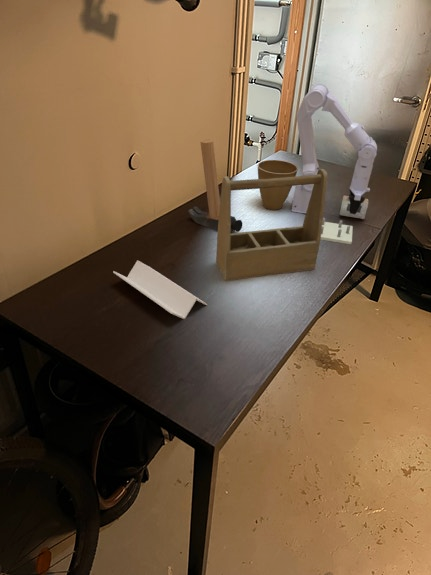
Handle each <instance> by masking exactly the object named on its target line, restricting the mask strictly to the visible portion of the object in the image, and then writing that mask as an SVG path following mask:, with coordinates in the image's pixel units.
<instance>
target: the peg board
mask: <svg viewBox="0 0 431 575" xmlns="http://www.w3.org/2000/svg"><path fill="white" fill-rule="evenodd" d="M338 221H339V222H338V223H336V222H335V223H334V222H329V221H326V217H323V221H322V230H321V239H320V241H321V240H322V241H328V242H334V243H339V244H346V245H352V243H353V225H348V224H343V220H342V219H340V220H338Z"/></svg>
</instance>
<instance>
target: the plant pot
mask: <svg viewBox="0 0 431 575" xmlns="http://www.w3.org/2000/svg"><path fill="white" fill-rule="evenodd" d="M298 169H299V168H298V166H297V165H295V163H292V162H289V161H285V160H280V159H267V160H263V161H260V162H259V163H258V164H257V179H273V178H284V177H295V176H297V173H298ZM292 187H293V186H284V187H273V188H260V189H259V193H260V198H261V203H262V206H263V208H265V209H268V210H271V211H272V210H273V211H278V210H280V209H282V208H283V206H284V205H285V202H286V200H287V199H288V197H289V194H290V193H291V190H292Z"/></svg>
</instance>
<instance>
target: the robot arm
mask: <svg viewBox="0 0 431 575" xmlns="http://www.w3.org/2000/svg"><path fill="white" fill-rule="evenodd" d="M321 108H322V109H321ZM319 109H321V111H322V112H327V113H328V112H329V113H330V114H331V115H332V116H333V117H334V118H335V119H336V121H337V122H338V123H339V124H340V125H341V126H342V127H343V129H344V136H345V138H346V139H347V140H348V141H349V143H350V144H351V146H352V147H353V148H354V150H356V151H357V152H358V153H357V156H358V158H357V160H356V161H355V162H356V163H355V166H354V171H353V175H352V179H351V184H350V186H349V189H348V190H349V194H348V196H349V200H350V214H356V213H357V211H358V209H359V207H360V205H361V204H362V202H364V200H365V199H366V198H365V197H362V196H363V195H364V194H366V192H368V193H369V192H370V191H371V188H370V187H368V185H369V181H370V179H371V178H370V177H371V174H372V170H373V167H374V164H373V163H374V162H375V159H376V157H377V152H378V145H377V143H376V140H374V139H373V137H372V136H369V134H368V133H367V132H366V130H365V126H364V125H363V124H360V123H359V122H353V120H352V119H351V117H350V116H349V114H348V113H347V112H346V110H345V108H343V106H342V104H341V103H340V102H339V100H338V99H337V97H336V96H335V94H333V92H332V91H330V90H329V88H328V87H327V85H325V84H323V83H318V84H317V83H316V84H315V85H314V86H312V87H311V89H310V90H309V91H308V92H307V93H306V95H305V96H304V97H303V98H302V102H301V103H300V105H299V108H298V110H297V112H296V123H297V130H298V136H299V144H300V145H299V146H300V151H301V158H302V165H303V166H302V176H306V175H317V172H318V170H319V169H320V167H319V166H320V165H319V162H318V159H317V152H316V144H315V136H314V127H313V120H312V116H313V115H314V114H315V112H316V111H317V110H319ZM313 186H314V184H308V185H297V186H294V187H295V188H294V193H293V198H292V202H291V210H290V211H291V212H292V213H300V214H305V215H306V212H307V208H308V205H309V201H310V198H311V194H312V190H313Z"/></svg>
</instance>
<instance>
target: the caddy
mask: <svg viewBox="0 0 431 575" xmlns="http://www.w3.org/2000/svg"><path fill="white" fill-rule="evenodd" d="M308 184H314V186H313V190H312V194H311V198H310V201H309V205H308V208H307V212H306V214H305V216H304V220H303V223H302V225H298V226H291V227H280V228H279V227H278V228H270V229H269V228H268V229H261V230H252V231H241V232H240V231H239V232H234V233H231V216H232V214H231V212H232V208H231V206H232V203H231V202H232V199H231V198H232V194H231V193H232V191H243V190H246V191H247V190H258V189H259V190H260V188H273V187H284V186H292V187H296V186H301V185H308ZM327 185H328V172H327V170H325V169H324V168H319V170H318V172H317V175H306V176H303V175H296V176H295V177H284V178H273V179H258V178H255V179H251V178H250V179H240V180H239V179H238V180H231V179H230V177H229V176H223V177H222V182H221V190H220V192H221V193H220V212H219V221H218V231H217V235H216V254H215V255H216V256H215V257H216V258H215V264H216V265H217V268H218V269H219V271H220V274H221V276H222V277H223V279H224V281H225V282H228V281H236V280H242V279H243V280H244V279H249V278H250V279H251V278H257V277H263V276H264V277H265V276H273V275H280V274H286V273H295V272H303V271H310V270H314V269H316V265H317V258H318V254H319V251H320V250H319V249H320V244H321V230H322V221H323V218H324V210H325V204H326V203H325V202H326V196H327V195H326V194H327Z"/></svg>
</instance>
